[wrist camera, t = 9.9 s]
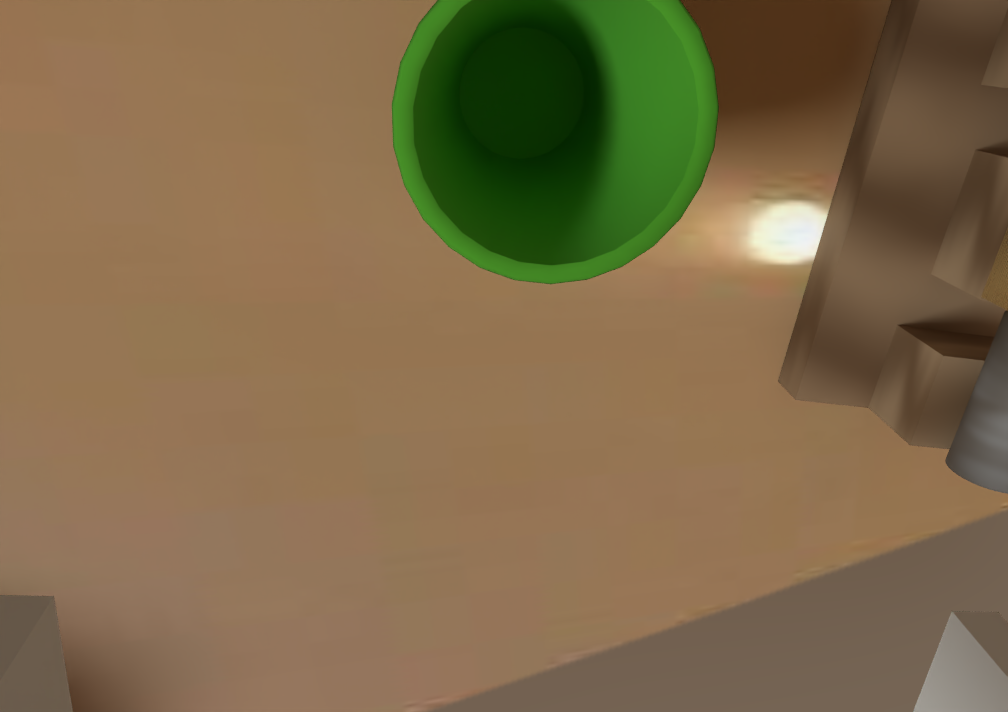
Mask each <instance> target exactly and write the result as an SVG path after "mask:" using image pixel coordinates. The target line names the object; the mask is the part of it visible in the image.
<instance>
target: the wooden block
mask: <svg viewBox="0 0 1008 712" xmlns="http://www.w3.org/2000/svg"><path fill="white" fill-rule="evenodd" d="M981 297H982V298H984V299H986V300H988V301H990V302H992V303H994V304H995V305H997V306H999V307H1001V308H1003V309H1005V310H1007V311H1008V228H1007V230H1006V233H1005V235H1004V238H1003V241H1002V243H1001V246H1000V248H999V251H998V254H997V256H996V259H995V261H994V264H993V267H992V269H991V272H990V275H989V277H988V280H987V282H986V285H985V288H984V290H983V293H982V295H981Z"/></svg>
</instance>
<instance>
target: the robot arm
mask: <svg viewBox="0 0 1008 712" xmlns="http://www.w3.org/2000/svg"><path fill="white" fill-rule="evenodd" d="M0 712H73V709H72V703H71V697H70V691H69V685H68V679H67V673H66V667H65V661H64V654H63V648H62V642H61V636H60V630H59V624H58V618H57V612H56V606H55V600H54V596H16V595H0ZM913 712H1008V622H1007V621H1006V620H1005V619H1004V618H1003V617H1002V616H1001V615H1000V613H999V612H970V611H952V612H951V615H950V618H949V620H948V623H947V625H946V628H945V631H944V633H943V636H942V639H941V641H940V644H939V646H938V649H937V651H936V654H935V657H934V659H933V662H932V664H931V667H930V669H929V672H928V675H927V677H926V680H925V683H924V685H923V688H922V690H921V693H920V696H919V698H918V701H917V703H916V706H915V708H914V711H913Z"/></svg>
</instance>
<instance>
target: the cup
mask: <svg viewBox="0 0 1008 712" xmlns="http://www.w3.org/2000/svg"><path fill="white" fill-rule="evenodd" d="M718 110H719V105H718V96H717V88H716V79H715V71H714V65H713V63H712V60H711V57H710V55H709V52H708V49H707V47H706V44H705V41H704V39H703V36H702V33H701V31H700V28H699V27H698V25H697V24H696V22H695V21H694V19H693V18H692V17H691V15H690V14H689V12H688V11H687V9H686V8H685V6H684V5H683V4H682V2H681V1H680V0H437V2H436V3H435V4H434V5H433V6H432V8H431V9H430V10H429V11H428V13H427V14H426V15H425V16H424V18H423V19H422V20H421V21H420V22H419V24H418V26H417V28H416V30H415V32H414V35H413V37H412V39H411V41H410V43H409V45H408V47H407V49H406V52H405V54H404V56H403V58H402V60H401V62H400V67H399V72H398V76H397V81H396V86H395V91H394V96H393V101H392V124H393V147H394V150H395V154H396V158H397V161H398V165H399V168H400V172H401V176H402V179H403V183H404V186H405V187H406V189H407V191H408V193H409V195H410V196H411V198H412V200H413V202H414V204H415V205H416V207H417V209H418V211H419V213H420V214H421V216H422V218H423V220H424V221H425V222H426V223H427V224H428V225H429V226H430V227H431V228H432V229H433V230H434V231H435V232H436V234H437V235H438V236H439V237H440V238H441V239H442V240H443V241H444V242H445V243H446V244H447V245H448V247H450V248H451V249H453V250H454V251H456V252H457V253H459V254H460V255H462V256H463V257H465V258H466V259H468V260H469V261H471V262H472V263H474V264H475V265H477V266H478V267H480V268H482V269H485V270H488V271H491V272H493V273H496V274H499V275H502V276H505V277H507V278H510V279H513V280H518V281H527V282H536V283H545V284H556V283H564V282H572V281H580V280H587V279H590V278H593V277H596V276H598V275H601V274H604V273H606V272H609V271H612V270H615V269H617V268H620V267H622V266H624V265H626V264H627V263H629V262H630V261H632V260H633V259H635V258H636V257H638V256H639V255H641V254H642V253H644V252H646V251H647V250H649V249H650V248H652V247H653V246H654V245H655V244H656V243H657V242H658V241H659V240H660V239H661V238H662V237H663V236H664V235H665V234H666V233H667V232H668V231H669V230H670V229H671V228H672V227H673V226H674V225H675V224H676V223H677V222H678V221H679V220H680V219H681V217H682V216H683V214H684V212H685V211H686V209H687V207H688V206H689V204H690V203H691V201H692V199H693V198H694V196H695V195H696V193H697V191H698V190H699V188H700V186H701V184H702V182H703V179H704V176H705V173H706V170H707V167H708V164H709V162H710V159H711V156H712V153H713V150H714V146H715V137H716V128H717V119H718Z"/></svg>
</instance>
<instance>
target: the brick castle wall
mask: <svg viewBox="0 0 1008 712" xmlns="http://www.w3.org/2000/svg"><path fill="white" fill-rule="evenodd" d="M1007 228H1008V0H892V2H891V6H890V9H889V12H888V16H887V19H886V22H885V26H884V29H883V32H882V36H881V39H880V42H879V46H878V49H877V52H876V56H875V59H874V63H873V66H872V69H871V73H870V76H869V79H868V83H867V86H866V89H865V93H864V96H863V99H862V103H861V106H860V109H859V113H858V116H857V119H856V123H855V126H854V129H853V133H852V136H851V139H850V143H849V146H848V149H847V153H846V156H845V159H844V163H843V166H842V169H841V173H840V176H839V179H838V183H837V186H836V190H835V193H834V196H833V200H832V203H831V206H830V210H829V213H828V216H827V220H826V223H825V226H824V230H823V233H822V236H821V240H820V243H819V246H818V250H817V253H816V256H815V260H814V263H813V266H812V270H811V273H810V276H809V280H808V283H807V286H806V290H805V293H804V296H803V300H802V303H801V307H800V310H799V313H798V317H797V320H796V323H795V327H794V330H793V333H792V337H791V340H790V343H789V347H788V350H787V353H786V357H785V360H784V363H783V367H782V370H781V373H780V377H779V380H778V382H779V383H780V384H781V385H782V386H783V387H784V388H785V389H786V390H787V392H788V393H789V394H790V395H791V396H792V397H793V398H794V399H795V400H801V401H810V402H820V403H829V404H838V405H848V406H857V407H866V408H869V409H870V410H871V411H873V412H874V413H875V414H876V415H877V416H878V417H879V418H880V419H881V420H883V421H884V422H885V423H886V424H887V425H888V426H889V427H890V428H891V429H893V430H894V431H895V432H896V433H897V434H898V435H899V436H900V437H901V438H902V439H904V440H905V441H906V442H907V443H908V444H909V445H913V446H923V447H933V448H943V449H950V450H949V452H948V455H947V457H946V464H947V466H948V467H949V468H950V469H951V470H952V471H953V472H955V473H956V474H957V475H959V476H961V477H962V478H964V479H966V480H968V481H970V482H972V483H974V484H976V485H979V486H981V487H984V488H987V489H990V490H994V491H998V492H1002V493H1008V311H1007V310H1005V309H1003V308H1001V307H999V306H997V305H995V304H994V303H992V302H990V301H988V300H986V299H984V298H982V297H981V295H982V293H983V290H984V288H985V285H986V282H987V280H988V277H989V275H990V272H991V269H992V267H993V264H994V261H995V259H996V256H997V254H998V251H999V248H1000V246H1001V243H1002V241H1003V238H1004V235H1005V233H1006V230H1007Z"/></svg>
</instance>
